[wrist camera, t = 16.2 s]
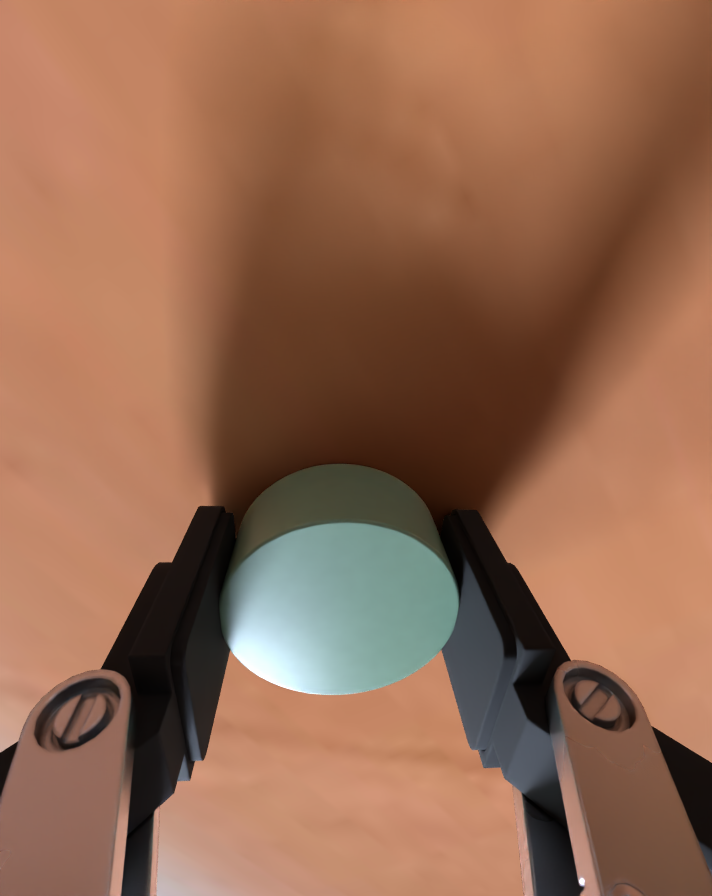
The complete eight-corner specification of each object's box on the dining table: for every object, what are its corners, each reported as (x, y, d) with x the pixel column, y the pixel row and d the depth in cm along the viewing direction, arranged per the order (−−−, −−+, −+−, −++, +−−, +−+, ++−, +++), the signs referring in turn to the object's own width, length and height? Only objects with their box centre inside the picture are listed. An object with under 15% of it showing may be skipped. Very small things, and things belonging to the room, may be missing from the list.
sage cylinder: (475, 520, 11) (510, 585, 9) (364, 642, 12) (372, 719, 10) (302, 423, 9) (296, 474, 7) (203, 576, 11) (176, 652, 9)
